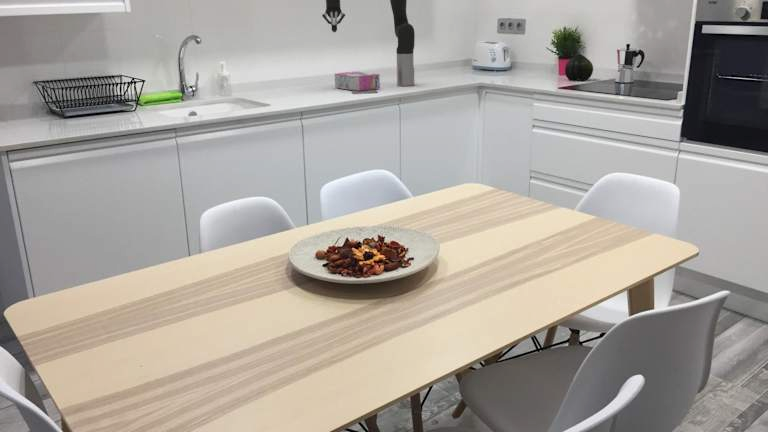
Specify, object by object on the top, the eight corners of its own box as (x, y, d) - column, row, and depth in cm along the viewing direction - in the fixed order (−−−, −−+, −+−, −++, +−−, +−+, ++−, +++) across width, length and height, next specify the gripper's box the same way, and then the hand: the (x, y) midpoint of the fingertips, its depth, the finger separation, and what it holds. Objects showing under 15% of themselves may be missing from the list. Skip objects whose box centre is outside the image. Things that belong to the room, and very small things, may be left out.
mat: (373, 86, 376) (373, 86, 376) (377, 92, 352) (377, 92, 352) (349, 87, 375) (349, 86, 375) (352, 93, 351) (352, 93, 351)
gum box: (332, 73, 372) (352, 70, 380) (333, 87, 374) (353, 85, 382) (359, 76, 354) (379, 73, 362) (359, 91, 356) (380, 88, 364)
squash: (579, 72, 367) (591, 50, 370) (556, 72, 378) (567, 50, 381) (590, 88, 376) (601, 66, 380) (567, 87, 387) (577, 65, 390)
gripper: (344, -2, 367) (346, 31, 373) (320, -2, 366) (321, 32, 371) (345, -2, 360) (347, 32, 366) (320, -2, 359) (322, 32, 364)
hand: (334, 32), depth 368 cm, fingers closed
